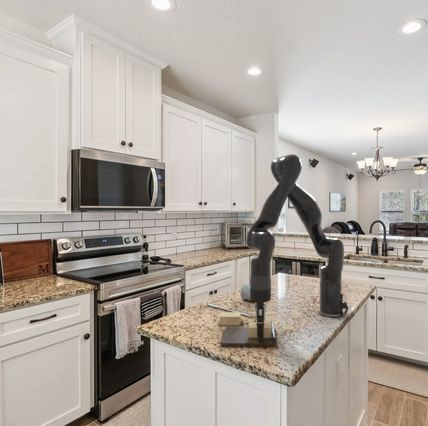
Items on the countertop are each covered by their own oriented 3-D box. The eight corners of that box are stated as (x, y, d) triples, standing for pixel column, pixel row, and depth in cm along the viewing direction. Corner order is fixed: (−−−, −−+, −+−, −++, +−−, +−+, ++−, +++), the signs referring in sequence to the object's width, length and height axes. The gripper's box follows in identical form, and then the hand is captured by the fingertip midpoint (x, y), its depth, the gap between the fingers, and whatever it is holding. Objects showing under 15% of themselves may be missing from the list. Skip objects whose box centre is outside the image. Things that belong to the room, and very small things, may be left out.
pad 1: (240, 320, 124) (240, 312, 124) (240, 325, 119) (240, 316, 119) (221, 320, 124) (221, 312, 124) (219, 325, 119) (219, 316, 119)
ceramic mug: (252, 303, 147) (252, 287, 147) (240, 300, 152) (240, 285, 152) (265, 299, 155) (266, 284, 155) (253, 296, 160) (253, 281, 160)
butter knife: (210, 302, 146) (206, 303, 144) (254, 315, 129) (250, 317, 127) (210, 303, 146) (206, 305, 144) (254, 316, 129) (250, 318, 127)
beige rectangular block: (271, 332, 110) (271, 322, 110) (271, 337, 105) (271, 327, 105) (249, 331, 110) (249, 322, 110) (248, 337, 105) (248, 327, 105)
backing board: (273, 330, 114) (273, 321, 114) (275, 347, 100) (275, 337, 100) (226, 330, 114) (226, 321, 114) (221, 346, 100) (221, 337, 100)
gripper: (271, 292, 100) (271, 341, 100) (270, 281, 114) (270, 325, 114) (249, 292, 100) (249, 341, 100) (250, 281, 114) (250, 325, 114)
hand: (260, 332), depth 107 cm, fingers open, 7 cm apart
